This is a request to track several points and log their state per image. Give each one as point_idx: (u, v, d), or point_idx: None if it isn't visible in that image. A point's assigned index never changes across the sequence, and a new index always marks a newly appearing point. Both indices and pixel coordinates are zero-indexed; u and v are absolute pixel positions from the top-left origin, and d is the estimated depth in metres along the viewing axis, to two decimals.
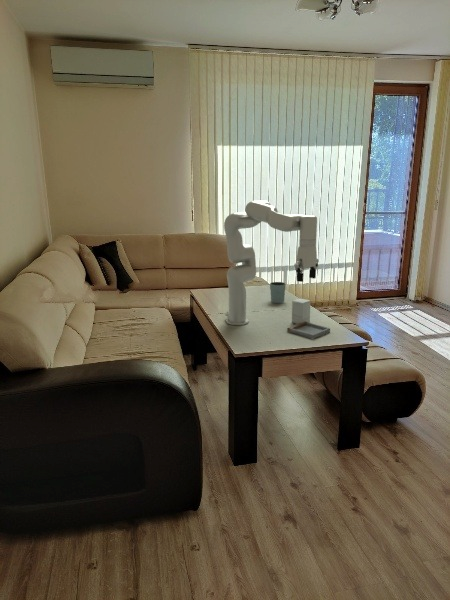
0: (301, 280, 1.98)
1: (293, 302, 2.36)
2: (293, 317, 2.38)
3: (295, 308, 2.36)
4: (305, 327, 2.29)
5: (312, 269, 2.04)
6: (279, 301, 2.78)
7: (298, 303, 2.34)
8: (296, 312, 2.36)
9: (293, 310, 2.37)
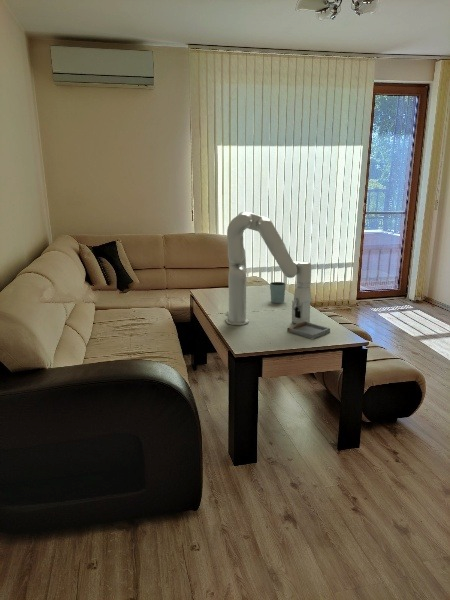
0: (298, 317, 2.34)
1: None
2: (293, 317, 2.38)
3: None
4: (305, 327, 2.29)
5: None
6: (279, 301, 2.78)
7: (298, 303, 2.34)
8: None
9: (293, 310, 2.37)
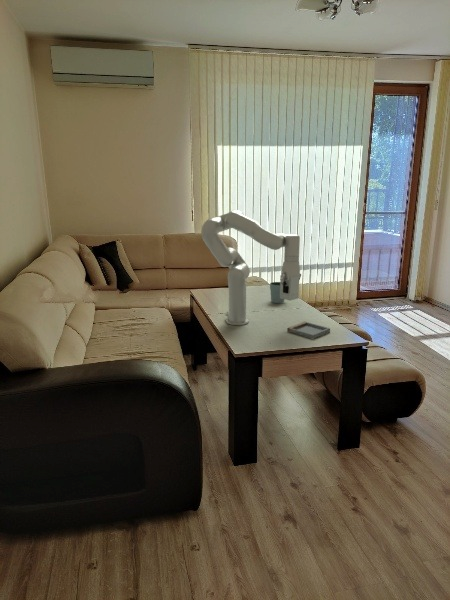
0: (287, 292, 2.24)
1: None
2: (281, 293, 2.28)
3: None
4: (305, 327, 2.29)
5: None
6: (279, 301, 2.78)
7: None
8: None
9: (281, 285, 2.27)
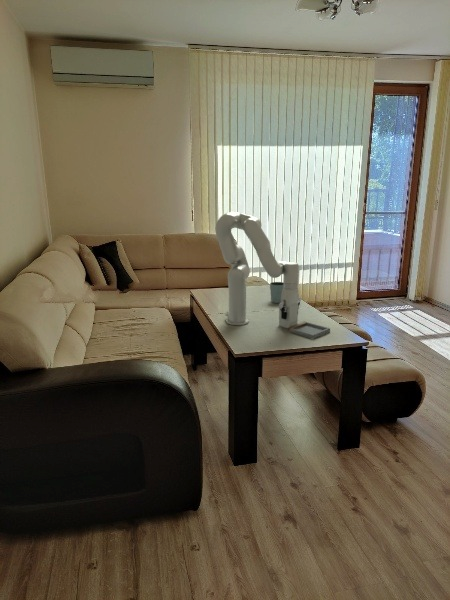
0: (285, 318, 2.28)
1: None
2: (280, 320, 2.32)
3: None
4: (305, 327, 2.29)
5: None
6: (279, 301, 2.78)
7: None
8: None
9: (280, 313, 2.31)
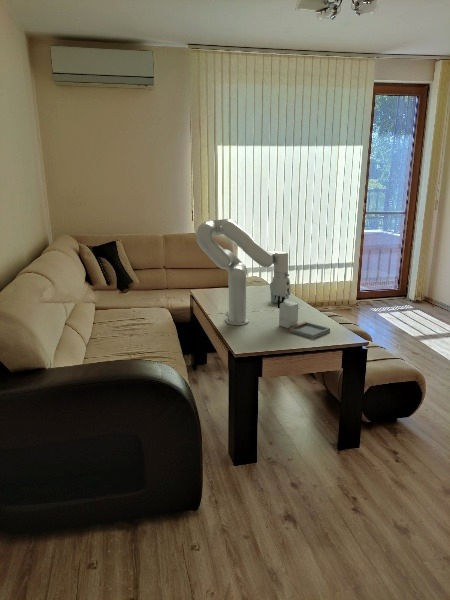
0: None
1: (280, 305, 2.30)
2: (280, 320, 2.32)
3: (282, 311, 2.30)
4: (305, 327, 2.29)
5: None
6: None
7: (285, 306, 2.28)
8: (283, 315, 2.30)
9: (280, 313, 2.31)
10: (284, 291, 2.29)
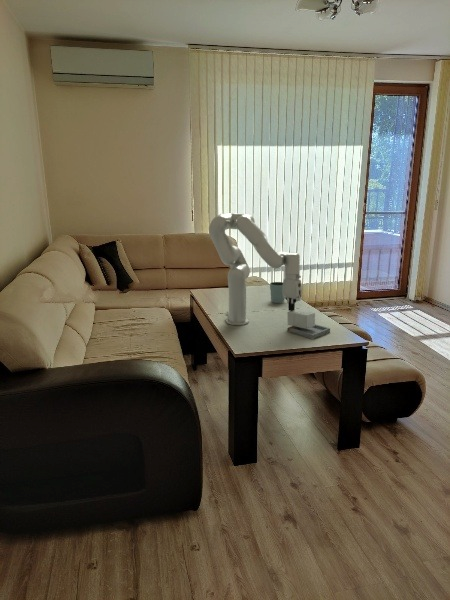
0: None
1: (305, 317, 2.20)
2: (292, 315, 2.26)
3: (300, 319, 2.22)
4: None
5: None
6: (279, 301, 2.78)
7: (305, 323, 2.20)
8: (297, 319, 2.24)
9: (298, 316, 2.23)
10: (295, 293, 2.24)
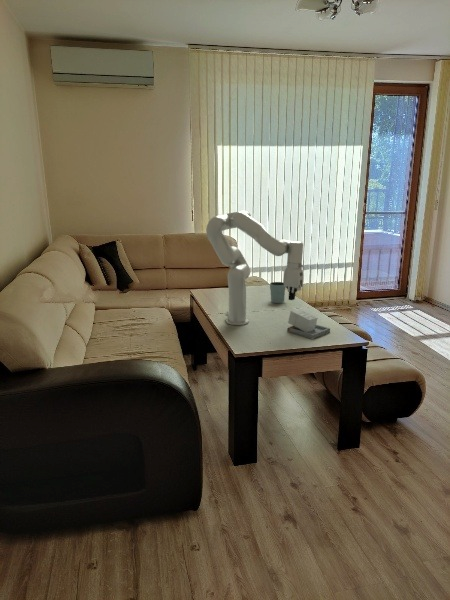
0: None
1: (307, 321, 2.19)
2: (294, 315, 2.25)
3: (302, 321, 2.22)
4: None
5: None
6: (279, 301, 2.78)
7: (306, 327, 2.20)
8: (298, 321, 2.23)
9: (300, 318, 2.22)
10: (297, 282, 2.21)
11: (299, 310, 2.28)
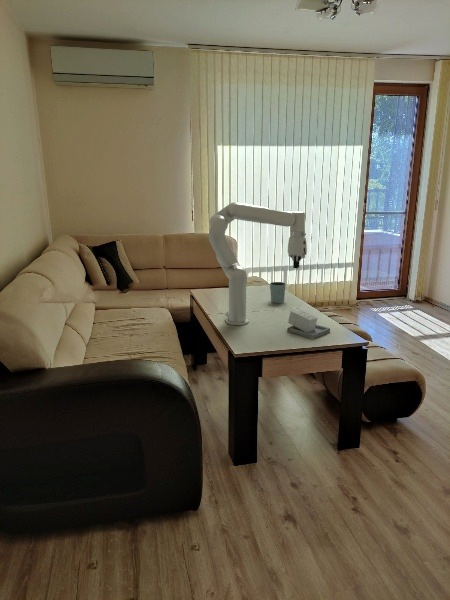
0: None
1: (307, 321, 2.19)
2: (294, 315, 2.25)
3: (302, 321, 2.22)
4: None
5: None
6: (279, 301, 2.78)
7: (306, 327, 2.20)
8: (298, 321, 2.23)
9: (300, 318, 2.22)
10: (300, 250, 2.32)
11: (299, 310, 2.28)
